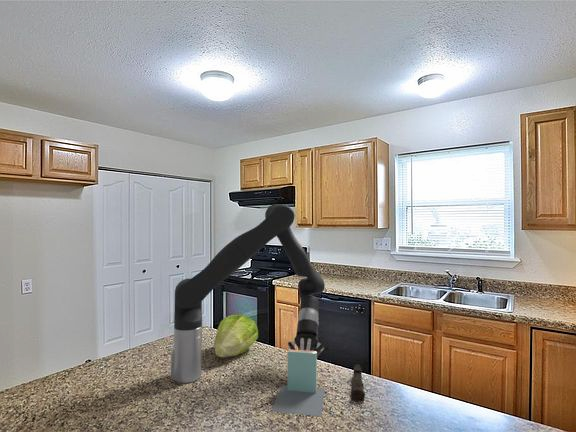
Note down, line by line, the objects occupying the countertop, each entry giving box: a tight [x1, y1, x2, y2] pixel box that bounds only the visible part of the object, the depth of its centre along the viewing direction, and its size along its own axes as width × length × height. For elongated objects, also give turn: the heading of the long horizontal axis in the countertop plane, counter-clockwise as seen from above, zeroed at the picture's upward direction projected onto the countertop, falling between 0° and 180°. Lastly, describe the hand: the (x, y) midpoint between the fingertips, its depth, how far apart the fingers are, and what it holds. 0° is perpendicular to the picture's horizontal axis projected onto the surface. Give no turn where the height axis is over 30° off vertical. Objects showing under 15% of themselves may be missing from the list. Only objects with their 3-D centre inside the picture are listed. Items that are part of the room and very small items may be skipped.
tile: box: [286, 348, 318, 393], centre depth 106 cm, size 9×2×12 cm, turn 80°
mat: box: [270, 383, 326, 417], centre depth 100 cm, size 14×16×1 cm
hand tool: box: [350, 364, 366, 402], centre depth 109 cm, size 19×4×5 cm, turn 166°
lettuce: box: [213, 313, 259, 358], centre depth 137 cm, size 17×24×14 cm
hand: (303, 371), depth 110 cm, fingers closed
